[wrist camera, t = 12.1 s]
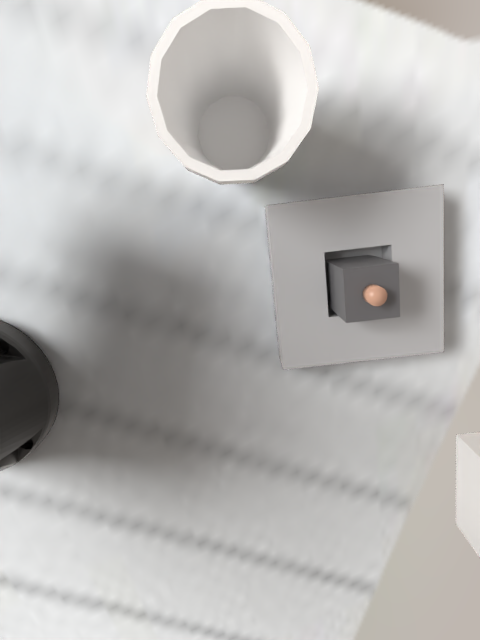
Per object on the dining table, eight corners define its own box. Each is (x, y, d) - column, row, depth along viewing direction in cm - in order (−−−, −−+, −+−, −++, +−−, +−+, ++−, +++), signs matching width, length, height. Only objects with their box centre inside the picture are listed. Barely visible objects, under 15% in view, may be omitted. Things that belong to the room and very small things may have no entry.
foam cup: (300, 177, 37) (333, 156, 24) (198, 207, 37) (178, 202, 25) (272, 59, 35) (293, -32, 22) (164, 92, 35) (123, 23, 23)
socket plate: (279, 357, 41) (283, 369, 37) (264, 206, 37) (267, 205, 34) (426, 340, 40) (443, 352, 37) (424, 187, 37) (443, 184, 34)
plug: (326, 304, 38) (350, 327, 30) (323, 259, 37) (347, 271, 29) (371, 299, 38) (406, 320, 30) (369, 254, 37) (405, 264, 29)
